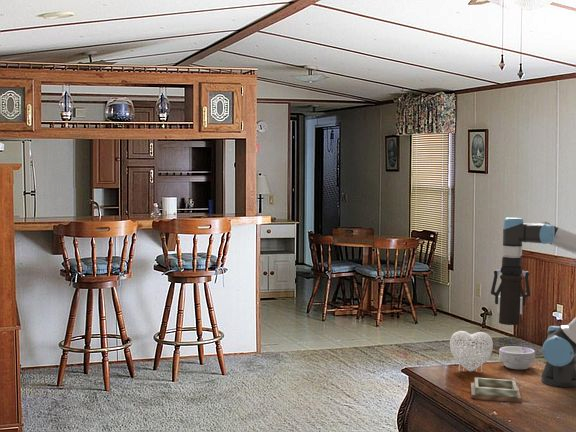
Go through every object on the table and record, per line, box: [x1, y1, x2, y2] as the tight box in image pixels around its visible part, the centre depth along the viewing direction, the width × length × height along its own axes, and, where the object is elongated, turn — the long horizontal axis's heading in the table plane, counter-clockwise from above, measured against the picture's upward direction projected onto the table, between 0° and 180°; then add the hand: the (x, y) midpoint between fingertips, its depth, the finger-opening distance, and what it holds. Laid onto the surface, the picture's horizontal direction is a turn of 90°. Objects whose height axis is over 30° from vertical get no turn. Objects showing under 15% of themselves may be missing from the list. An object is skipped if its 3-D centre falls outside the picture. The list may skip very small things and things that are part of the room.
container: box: [498, 273, 523, 326], centre depth 343 cm, size 9×9×20 cm
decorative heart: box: [449, 330, 494, 373], centre depth 364 cm, size 18×11×17 cm, turn 81°
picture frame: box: [470, 377, 522, 403], centre depth 329 cm, size 18×18×4 cm
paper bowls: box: [498, 345, 536, 370], centre depth 374 cm, size 15×15×8 cm
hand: (509, 312), depth 343 cm, fingers closed on container, 8 cm apart
